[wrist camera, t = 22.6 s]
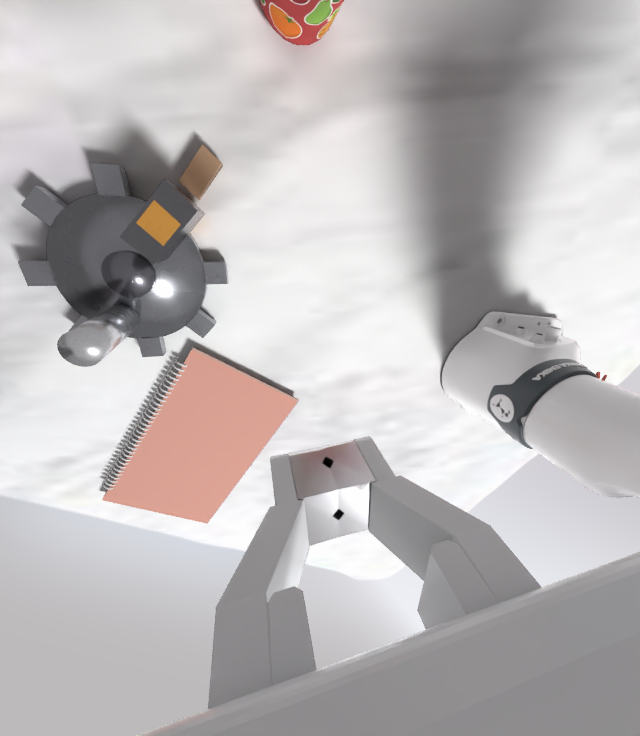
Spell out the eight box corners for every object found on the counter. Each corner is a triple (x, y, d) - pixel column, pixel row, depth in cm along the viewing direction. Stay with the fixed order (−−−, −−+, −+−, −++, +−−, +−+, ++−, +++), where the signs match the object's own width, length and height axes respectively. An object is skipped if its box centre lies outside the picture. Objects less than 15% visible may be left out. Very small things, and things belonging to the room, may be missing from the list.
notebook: (186, 338, 35) (183, 344, 33) (297, 394, 42) (299, 401, 40) (98, 488, 41) (92, 499, 39) (208, 514, 48) (207, 524, 46)
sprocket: (261, 271, 33) (267, 287, 24) (163, 379, 35) (135, 430, 26) (97, 113, 24) (8, 42, 15) (-15, 272, 27) (-148, 293, 18)
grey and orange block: (205, 213, 28) (197, 210, 23) (167, 259, 29) (153, 264, 24) (177, 187, 26) (164, 178, 22) (139, 235, 27) (118, 236, 23)
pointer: (204, 148, 27) (202, 144, 26) (222, 166, 28) (221, 162, 27) (181, 183, 28) (178, 181, 26) (199, 200, 29) (197, 198, 27)
